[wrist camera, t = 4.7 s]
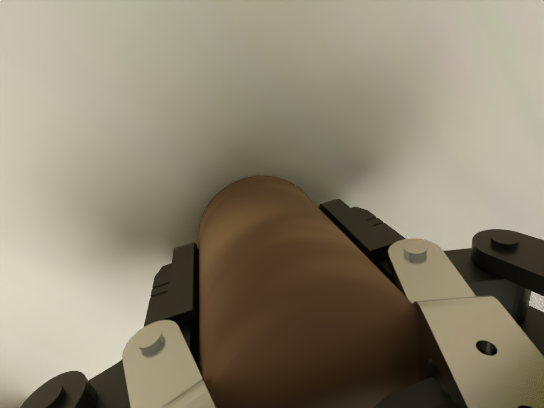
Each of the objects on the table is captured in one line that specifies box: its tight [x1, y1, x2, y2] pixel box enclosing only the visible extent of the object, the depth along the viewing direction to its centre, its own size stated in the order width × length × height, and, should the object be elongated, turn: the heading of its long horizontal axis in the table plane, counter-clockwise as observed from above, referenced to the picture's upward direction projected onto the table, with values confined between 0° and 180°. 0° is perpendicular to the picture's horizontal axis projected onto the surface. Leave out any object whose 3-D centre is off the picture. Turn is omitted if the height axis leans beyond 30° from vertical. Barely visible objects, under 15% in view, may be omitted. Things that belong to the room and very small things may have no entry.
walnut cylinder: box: [199, 176, 419, 408], centre depth 9 cm, size 5×5×7 cm
